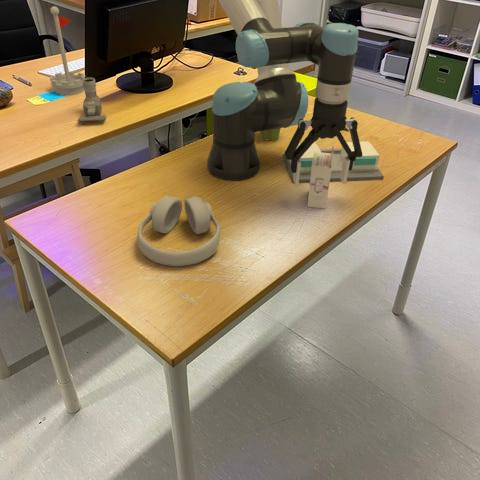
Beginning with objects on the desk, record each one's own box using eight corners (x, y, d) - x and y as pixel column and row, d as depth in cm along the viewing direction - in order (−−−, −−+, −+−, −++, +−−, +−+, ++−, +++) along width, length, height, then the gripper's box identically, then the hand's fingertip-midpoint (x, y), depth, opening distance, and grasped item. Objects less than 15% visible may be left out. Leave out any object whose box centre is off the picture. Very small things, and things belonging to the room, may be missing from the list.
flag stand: (57, 98, 176) (38, 11, 158) (49, 88, 185) (30, 4, 167) (91, 93, 181) (77, 8, 163) (82, 83, 190) (68, 1, 172)
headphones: (147, 212, 115) (133, 274, 101) (143, 187, 109) (128, 249, 95) (222, 213, 115) (219, 275, 101) (221, 189, 110) (218, 250, 96)
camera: (102, 76, 162) (100, 91, 150) (107, 108, 169) (105, 126, 158) (76, 76, 161) (71, 92, 149) (82, 109, 168) (78, 127, 156)
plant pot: (289, 139, 152) (291, 114, 146) (265, 145, 148) (266, 119, 142) (273, 129, 158) (275, 104, 153) (249, 134, 154) (250, 109, 149)
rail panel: (293, 183, 129) (295, 164, 126) (282, 156, 142) (283, 138, 138) (383, 179, 132) (387, 160, 129) (364, 153, 145) (368, 136, 141)
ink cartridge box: (308, 190, 126) (315, 139, 117) (327, 192, 126) (335, 142, 117) (306, 207, 120) (312, 154, 111) (325, 209, 119) (333, 157, 110)
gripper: (282, 106, 102) (275, 191, 115) (388, 103, 105) (369, 187, 118) (276, 93, 108) (270, 176, 121) (376, 92, 111) (360, 173, 124)
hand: (319, 182), depth 119 cm, fingers open, 12 cm apart
